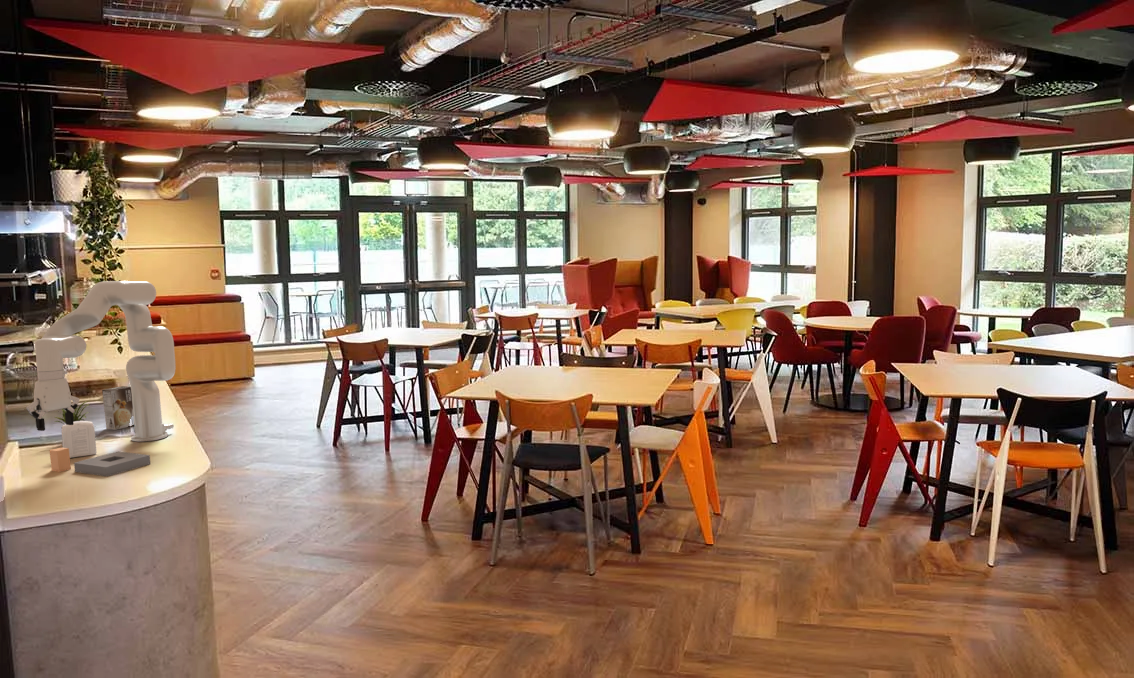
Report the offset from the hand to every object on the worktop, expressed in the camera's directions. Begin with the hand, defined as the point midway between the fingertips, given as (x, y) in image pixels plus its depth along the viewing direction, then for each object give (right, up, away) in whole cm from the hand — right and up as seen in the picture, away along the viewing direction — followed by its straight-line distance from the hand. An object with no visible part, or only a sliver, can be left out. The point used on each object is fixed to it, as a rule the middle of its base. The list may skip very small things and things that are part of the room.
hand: (55, 427), depth 291 cm
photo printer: (-3, -12, +21) cm, 24 cm away
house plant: (-17, -10, +43) cm, 47 cm away
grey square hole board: (+18, -14, +2) cm, 22 cm away
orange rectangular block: (+1, -14, +2) cm, 14 cm away
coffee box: (-13, -7, +68) cm, 70 cm away
